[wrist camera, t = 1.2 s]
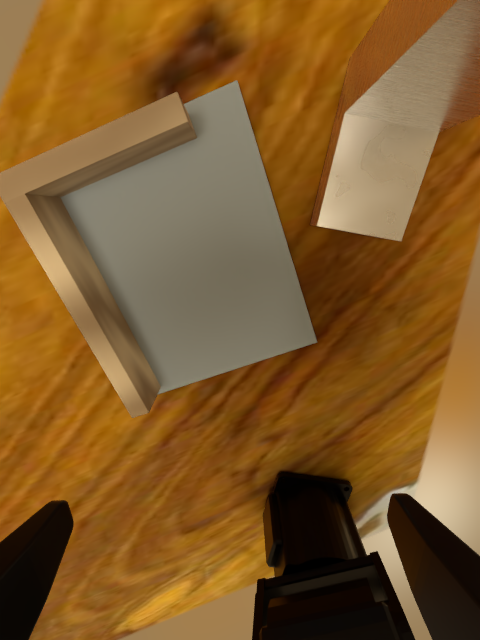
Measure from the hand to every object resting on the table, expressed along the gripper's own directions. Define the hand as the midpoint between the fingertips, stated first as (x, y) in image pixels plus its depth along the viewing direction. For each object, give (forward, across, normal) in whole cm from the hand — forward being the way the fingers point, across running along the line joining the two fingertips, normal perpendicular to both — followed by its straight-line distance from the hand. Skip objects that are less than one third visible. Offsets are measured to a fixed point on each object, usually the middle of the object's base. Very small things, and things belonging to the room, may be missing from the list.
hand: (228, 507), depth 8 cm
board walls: (+13, +5, -4) cm, 15 cm away
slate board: (+13, +3, -5) cm, 14 cm away
